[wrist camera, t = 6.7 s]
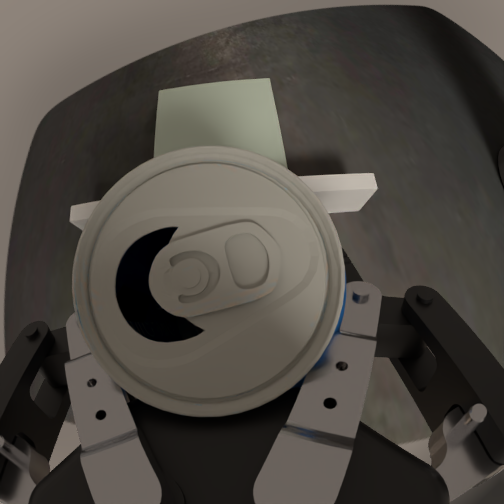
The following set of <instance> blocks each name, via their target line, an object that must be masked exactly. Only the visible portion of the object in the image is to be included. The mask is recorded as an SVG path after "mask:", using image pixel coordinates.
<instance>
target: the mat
mask: <svg viewBox="0 0 504 504" xmlns="http://www.w3.org/2000/svg"><path fill="white" fill-rule="evenodd" d="M195 146H228V147H236V148H240V149H244V150H248V151H252V152H255V153H257V154H260V155H263V156H265V157H268V158H270V159H271V160H273V161H275V162H277V163H279V164H281V165H283V166H284V167H285V168H287V163H286V157H285V152H284V147H283V141H282V136H281V131H280V126H279V121H278V116H277V111H276V107H275V102H274V97H273V92H272V88H271V83H270V79H269V78H265V79H247V80H235V81H224V82H214V83H206V84H198V85H191V86H184V87H178V88H172V89H166V90H160V91H159V96H158V106H157V117H156V130H155V145H154V158H155V157H157V156H160V155H162V154H165V153H168V152H170V151H174V150H178V149H183V148H187V147H195ZM287 169H288V168H287Z"/></svg>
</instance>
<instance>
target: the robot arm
mask: <svg viewBox="0 0 504 504" xmlns="http://www.w3.org/2000/svg"><path fill="white" fill-rule="evenodd" d="M498 166H499V171H500V175H501V179H502V182H503V185H504V146H503V147H502V148H501V149H500V151H499V155H498ZM342 252H343V259H344V265H345V272H346V303H345V310H344V316H343V319H342V323H341V327H340V330H338V331H336V332H335V333H334V334H333V336H332V338H331V340H330V342H329V344H328V345H327V347H326V349H325V350H324V352H323V354H322V355H321V357H320V359H319V360H318V361H317V362H316V363H315V365H314V366H313V367H312V368H311V370H310V371H309V372H308V373H307V375H306V378H305V380H304V383H303V385H302V388H299V387H297V388H291V389H289V390H287V391H286V392H285V393H283V394H282V395H280V396H279V397H277V398H276V399H274V400H272V401H270V402H268V403H266V404H264V405H261V406H259V407H257V408H254V409H251V410H248V411H245V412H242V413H238V414H233V415H227V416H221V417H193V416H185V415H179V414H175V413H171V412H167V411H164V410H161V409H158V408H156V407H153V406H151V405H149V404H146V403H144V402H143V401H141V400H139V399H138V398H136V397H134V396H133V395H131V394H129V393H128V392H127V391H125V390H124V389H123V388H122V387H120V386H119V385H118V384H117V383H115V382H114V381H113V380H112V379H111V377H110V376H109V375H108V374H107V373H106V372H105V371H104V370H103V369H102V368H101V366H100V365H99V364H98V362H97V361H96V359H95V358H94V357H93V355H92V353H91V352H90V350H89V348H88V346H87V344H86V342H85V340H84V338H83V336H82V333H81V330H80V328H79V325H78V322H77V318H76V314H75V313H73V314H72V315H71V316H70V317H69V319H68V321H67V323H66V327H63V328H60V329H56V330H53V331H50V329H49V327H48V326H47V324H46V323H45V322H43V321H36V322H33V323H31V324H29V325H28V326H26V327H25V328H24V329H23V330H22V331H21V333H20V334H19V336H18V337H17V339H16V340H15V342H14V343H13V345H12V347H11V348H10V350H9V351H8V353H7V355H6V356H5V358H4V360H3V361H2V363H1V364H0V502H1V503H3V504H450V502H451V501H452V500H454V499H455V498H457V497H458V496H460V495H461V494H463V493H465V492H466V491H468V490H469V489H470V488H474V487H477V486H479V485H480V484H482V483H484V482H485V481H487V480H488V479H490V478H491V477H493V476H494V475H496V474H497V473H498V472H500V471H501V470H503V469H504V369H503V368H502V366H501V365H500V364H499V362H498V361H497V360H496V359H495V357H494V356H493V355H492V354H491V352H490V351H489V350H488V349H487V347H486V346H485V345H484V344H483V343H482V341H481V340H480V339H479V338H478V337H477V335H476V334H475V333H474V332H473V331H472V330H471V328H470V327H469V326H468V325H467V324H466V323H465V321H464V320H463V319H462V318H461V317H460V316H459V315H458V314H457V312H456V311H455V310H454V309H453V308H452V307H451V306H450V305H449V304H448V303H447V301H446V300H445V299H444V298H443V297H442V296H441V295H440V294H439V293H438V292H437V291H435V290H434V289H432V288H429V287H426V286H413V287H411V288H409V289H408V290H407V291H406V293H405V297H404V298H397V297H385V296H382V295H381V292H380V290H379V289H378V288H377V287H376V286H374V285H372V284H370V283H367V282H363V280H362V278H361V277H360V275H359V273H358V272H357V270H356V268H355V267H354V265H353V264H352V263H351V260H350V259H349V257H347V254H346V253H345V251H344V249H343V248H342ZM151 297H152V296H149V295H147V294H144V293H141V292H139V291H136V290H134V289H131V288H128V287H126V286H122V288H121V289H120V291H119V293H118V295H117V297H116V298H117V301H118V305H119V308H120V310H121V312H122V314H123V316H124V318H125V319H126V321H134V322H143V323H144V322H145V318H146V314H147V311H148V307H149V304H150V300H151ZM427 346H428V347H429V349H430V350H431V351H432V353H433V354H434V356H435V357H434V356H433V354H432V353H431V351H430V350H429V349H428V347H427ZM374 357H387V358H389V359H390V361H391V362H392V364H393V366H394V367H395V369H396V371H397V372H398V374H399V376H400V377H401V379H402V381H403V382H404V384H405V386H406V387H407V389H408V391H409V392H410V394H411V396H412V397H413V399H414V401H415V403H416V404H417V406H418V408H419V410H420V411H421V413H422V415H423V417H424V418H425V420H426V422H427V424H428V426H429V427H430V429H431V431H432V435H431V436H430V439H429V443H428V447H429V452H430V458H431V460H432V463H431V466H430V465H429V464H427V463H425V462H424V461H422V460H420V459H419V458H417V457H415V456H414V455H412V454H411V453H409V452H407V451H405V450H404V449H402V448H401V447H399V446H398V445H396V444H395V443H393V442H391V441H390V440H388V439H387V438H385V437H384V436H382V435H380V434H379V433H377V432H376V431H374V430H373V429H371V428H370V427H368V426H367V425H365V424H364V423H362V422H361V421H360V418H361V414H362V410H363V406H364V401H365V397H366V393H367V388H368V384H369V379H370V374H371V370H372V364H373V359H374ZM38 371H39V372H40V373H41V375H42V376H43V377H44V378H45V379H44V381H43V383H42V385H41V387H40V389H39V391H38V394H37V396H36V398H35V400H34V401H33V400H32V399H31V397H30V386H31V384H32V382H33V380H34V378H35V376H36V374H37V372H38ZM70 404H71V405H72V409H73V414H74V418H75V423H76V427H77V431H78V435H79V439H80V442H81V444H80V445H79V447H77V448H76V449H75V450H74V451H73V452H72V453H71V454H70V455H68V456H67V457H66V458H65V459H64V460H63V461H62V462H61V463H60V464H59V465H58V466H56V467H55V468H54V469H53V470H52V471H51V472H50V466H49V460H50V457H51V454H52V452H53V449H54V446H55V443H56V441H57V438H58V435H59V432H60V430H61V427H62V425H63V422H64V419H65V417H66V414H67V412H68V409H69V407H70Z"/></svg>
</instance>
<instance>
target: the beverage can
mask: <svg viewBox="0 0 504 504" xmlns="http://www.w3.org/2000/svg"><path fill="white" fill-rule="evenodd" d="M122 286H126V287H128V288H131V289H134V290H136V291H139V292H141V293H144V294H147V295H149V296H152V297H151V300H150V304H149V307H148V311H147V314H146V318H145V322H144V323H143V322H134V321H126V319H125V318H124V316H123V314H122V312H121V310H120V308H119V305H118V301H117V298H116V297H117V295H118V293H119V291H120V289H121V288H122ZM72 294H73V304H74V309H75V314H76V318H77V322H78V325H79V328H80V330H81V333H82V336H83V338H84V340H85V342H86V344H87V346H88V348H89V350H90V352H91V353H92V355H93V357H94V358H95V359H96V361H97V362H98V364H99V365H100V366H101V368H102V369H103V370H104V371H105V372H106V373H107V374H108V375H109V376H110V377H111V379H112V380H113V381H114V382H115V383H117V384H118V385H119V386H120V387H122V388H123V389H124V390H125V391H127V392H128V393H129V394H131V395H133V396H134V397H136V398H138V399H139V400H141V401H143V402H144V403H146V404H149V405H151V406H153V407H156V408H158V409H161V410H164V411H167V412H171V413H175V414H179V415H185V416H193V417H221V416H227V415H233V414H238V413H242V412H245V411H248V410H251V409H254V408H257V407H259V406H261V405H264V404H266V403H268V402H270V401H272V400H274V399H276V398H277V397H279V396H280V395H282V394H283V393H285V392H286V391H287V390H289V389H291V388H297V387H299V388H301V387H302V385H303V383H304V380H305V378H306V375H307V373H308V372H309V371H310V370H311V368H312V367H313V366H314V365H315V363H316V362H317V361H318V360H319V359H320V357H321V355H322V354H323V352H324V350H325V349H326V347H327V345H328V344H329V342H330V340H331V338H332V336H333V334H334V333H335V332H336V331H338V330H340V327H341V323H342V319H343V316H344V310H345V303H346V272H345V265H344V259H343V252H342V247H341V244H340V241H339V237H338V234H337V231H336V229H335V226H334V224H333V222H332V220H331V218H330V215H329V214H328V212H327V211H326V209H325V207H324V206H323V204H322V203H321V201H320V200H319V198H318V197H317V196H316V195H315V194H314V192H313V191H312V190H311V189H310V188H309V187H308V186H307V185H306V184H305V183H304V182H303V181H302V180H301V179H300V178H299V177H298V176H297V175H295V174H294V173H292V172H291V171H290V170H288V169H287V168H285V167H284V166H283V165H281V164H279V163H277V162H275V161H273V160H271V159H270V158H268V157H265V156H263V155H260V154H257V153H255V152H252V151H248V150H244V149H240V148H236V147H228V146H195V147H187V148H183V149H178V150H174V151H170V152H168V153H165V154H162V155H160V156H157V157H155V158H153V159H151V160H149V161H147V162H145V163H143V164H141V165H139V166H138V167H136V168H135V169H133V170H132V171H130V172H129V173H127V174H126V175H125V176H124V177H123V178H121V179H120V180H119V181H118V182H117V183H116V184H115V185H114V186H113V187H112V188H111V189H110V190H109V191H108V192H107V193H106V194H105V195H104V196H103V198H102V199H101V200H100V202H99V203H98V205H97V206H96V207H95V209H94V210H93V212H92V214H91V215H90V217H89V219H88V221H87V223H86V225H85V227H84V229H83V232H82V234H81V237H80V239H79V242H78V246H77V250H76V253H75V258H74V265H73V272H72Z"/></svg>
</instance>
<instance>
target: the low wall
mask: <svg viewBox="0 0 504 504" xmlns="http://www.w3.org/2000/svg"><path fill="white" fill-rule="evenodd" d="M298 177H299V178H300V179H301V180H302V181H303V182H304V183H305V184H306V185H307V186H308V187H309V188H310V189H311V190H312V191H313V192H314V194H315V195H316V196H317V197H318V198H319V200H320V201H321V203H322V204H323V206H324V207H325V209H326V211H327V212H328V213H337V212H351V211H359V210H360V209H361V208H362V207H363V205H364V204H365V203H366V202H367V201H368V199H369V198H370V197H371V196H372V195H373V194H374V192H375V191H376V190H377V189H378V188H377V184H376V181H375V177H374V174H373V173H364V174H335V175H315V176H298ZM99 202H100V201H95V202H89V203H84V204H79V205H74V206H71V213H70V222H71V223H73V224H74V225H75V226H77V227H78V228H80V229H81V230H83V229H84V227H85V225H86V223H87V221H88V219H89V217H90V215H91V214H92V212H93V210H94V209H95V207H96V206H97V205H98V203H99Z"/></svg>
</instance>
